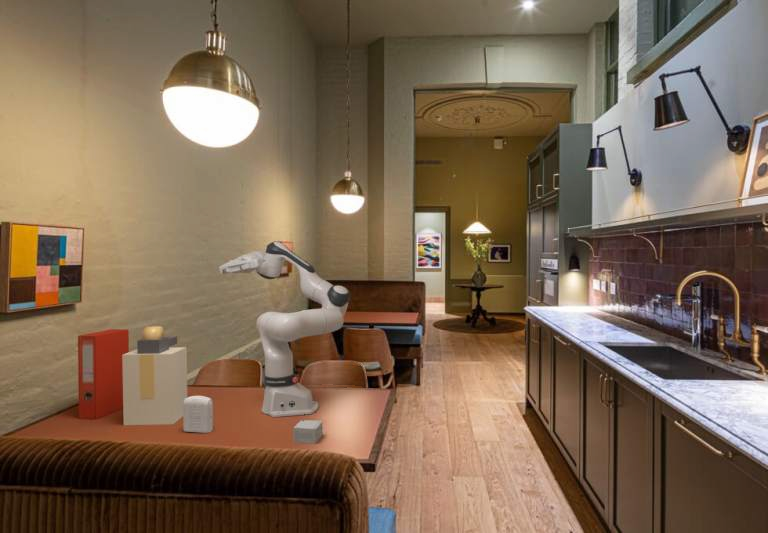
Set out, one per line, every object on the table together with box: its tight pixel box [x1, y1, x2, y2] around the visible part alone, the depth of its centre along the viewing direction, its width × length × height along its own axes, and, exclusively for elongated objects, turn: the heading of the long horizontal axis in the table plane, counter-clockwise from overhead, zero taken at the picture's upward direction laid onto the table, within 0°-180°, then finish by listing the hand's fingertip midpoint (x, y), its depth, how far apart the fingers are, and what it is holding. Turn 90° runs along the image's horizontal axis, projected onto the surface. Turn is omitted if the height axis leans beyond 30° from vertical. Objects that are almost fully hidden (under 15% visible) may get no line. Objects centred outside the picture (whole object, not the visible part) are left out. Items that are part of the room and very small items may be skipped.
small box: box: [292, 419, 323, 445], centre depth 153 cm, size 8×8×5 cm
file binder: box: [77, 328, 130, 421], centre depth 183 cm, size 8×17×32 cm, turn 170°
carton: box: [122, 346, 188, 426], centre depth 174 cm, size 18×13×26 cm
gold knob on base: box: [136, 325, 178, 354], centre depth 179 cm, size 21×8×10 cm, turn 1°
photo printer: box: [182, 395, 214, 434], centre depth 161 cm, size 10×4×12 cm, turn 81°
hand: (231, 269), depth 203 cm, fingers open, 8 cm apart
